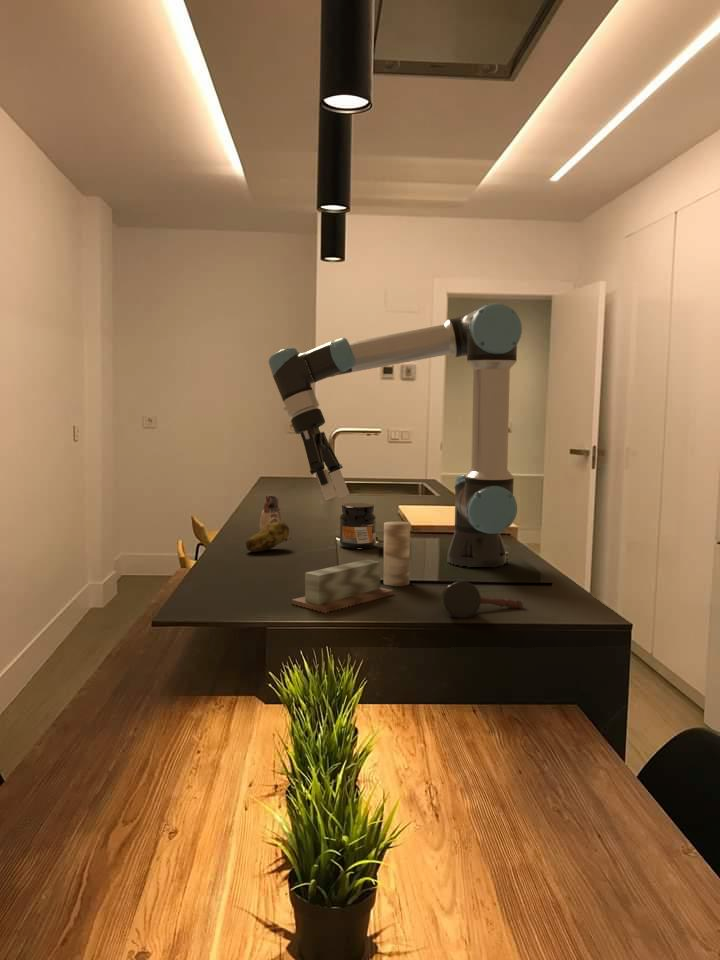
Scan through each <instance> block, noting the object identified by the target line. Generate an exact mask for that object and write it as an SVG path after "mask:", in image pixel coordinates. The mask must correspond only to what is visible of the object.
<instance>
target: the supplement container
mask: <svg viewBox="0 0 720 960" xmlns="http://www.w3.org/2000/svg"><path fill="white" fill-rule="evenodd" d="M340 512H341V514H340V516H339V517H338V519H339V541H338V542H339V543H338V544H339V545H340V546H341V547H342V548H343V547H346V548H345V549H347V548H356V549H355V550H358V549H357V548H369V549H372V548H374V547H376V544H377V539H376V537H377V536H376V535H377V534H376V533H377V531H376V529H377V526H376V525H377V516H376V515H375V505H374V504H373V503H368V502H367V503H366V502H349V503H342V504H341V506H340ZM371 547H372V548H371Z"/></svg>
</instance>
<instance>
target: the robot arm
mask: <svg viewBox="0 0 720 960" xmlns="http://www.w3.org/2000/svg"><path fill="white" fill-rule="evenodd" d="M522 325H523V324H522V321H521V317H519V315H518V313H517V312H516V311H515V310H514V309H513V308H512V307H510V306H508V305H506V304H503V303H496V302H494V303H486V304H483V305H481V306H480V307H478V308H477V309H475V310H473V311H472V312H469V313H467V314H464V315H462V316H458V317H456V318H448V319H447V320H446V321H445V322H444V324H439V325H434V326H430V327H424V328H423V327H422V328H418V329H417V328H416V329H414V330H413V329H412V330H408V331H402V332H397V333H396V332H395V333H391V334H386V335H382V336H376V337H369V338H363V339H359V340H355V341H350V342H349V341H348V339H347V338H345V337H341V338H338V339H333V340H331V341H329V342H326V343H324V344H321V345H319V346H317V347H315V348H313V349H310V350H308V351H306V352H305V351H304V352H301V353H300V352H299V351H298V350H297V348H296V347H288V348H285V349H284V348H283V349H280V350H279V351H277V352H275V353H273V354H272V355H270V356H269V358H268V365H269V369H270V371H271V374H272V378H273V380H274V382H275V384H276V387H277V389H278V392H279V394H280V396H281V399H282V402H283V403H284V406H283V410H284V411H287V415H288V416H289V418H291V420H290V423H291V426H292V428H293V431H294V433H295V434H297V435H300V437H301V439H302V441H303V445H304V446H303V447H304V450H305V453H306V456H307V462H308V465H309V469H310V470H309V472H310V474H311V475H315V477H316V479H317V482H318V485H319V488H320V489H321V492H322V495H323V497H324V501H328V500H330V499H334V498H336V497H337V498H338V499H341V498H343V497H346V496H348V495H350V491H349V489H348V486H347V484H346V482H345V479H344V476H343V473H342V470H341V469H343V465H342V464H341V463H340V462H339V459H338V458H337V456H336V454H335V452H334V450H333V448H332V447H331V445H330V442H329V440H328V437H327V435H326V433H325V432H324V431H321V430H320V427H322V426H324V424H325V423H326V420H325V417H324V415H323V411H322V410H321V409H320V408H319V406H320V404H319V401H318V399H317V396H316V394H315V392H314V390H313V387H312V384H314V383H317V382H319V381H322V380H325V379H327V378H333V377H337V376H340V375H341V376H342V375H346V374H351V373H356V372H361V371H366V370H372V369H377V368H382V367H388V366H393V365H397V364H398V365H399V364H404V363H409V362H416V361H421V360H425V359H426V360H427V359H430V358H438V357H442V356H443V357H444V356H447V355H449V356H450V357H452V358H459V357H465V356H466V358H467V359H466V363H467V364H469V366H470V367H471V368H472V371H473V373H472V375H473V376H472V377H473V378H472V416H471V417H472V418H471V419H472V425H471V468H470V470H469V471H468V472H467V473H466V474H459V475H457V476H456V478H455V484H454V493H455V494H454V533H453V537H452V538H451V542H450V544H449V548H448V551H447V556H446V557H447V563H448V562H449V563H448V564H450V563H451V564H450V565H453V564H454V565H453V566H456V565H459V566H458V567H462V566H467V567H466V568H470V567H492V568H498V566H499V567H502V566H504V564H505V563H506V564H507V554H506V550H505V547H504V544H503V540H502V536H501V533H502V532H504V531H506V530H507V529H508V528H510V527H511V525H513V523H514V522H515V520H516V518H517V514H518V503H517V500H516V498H515V496H514V479H515V478H514V475H513V474H512V473H511V472H510V471H509V470H508V461H509V460H508V459H509V458H508V456H509V455H508V453H509V449H508V448H509V421H510V420H509V417H510V416H509V414H510V381H511V380H510V378H511V377H510V376H511V373H510V371H511V369H512V367H513V366H514V365H515V364H516V363H517V358H518V357H517V356H518V354H517V352H518V344H519V342H520V339H521V337H522V334H523V333H522V332H523V326H522ZM325 466H326V467H325ZM506 564H505V565H506Z"/></svg>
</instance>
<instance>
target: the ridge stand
mask: <svg viewBox="0 0 720 960" xmlns="http://www.w3.org/2000/svg"><path fill="white" fill-rule="evenodd" d="M304 582H305V583H304V592H305V593H304V596H301V597H297V598H291V599H292V600H291V605H292V604H294V605H293V606H296V605H298V607H300V606H302V608H304V607H305V609H308V608H309V609H308V610H312V609H313V610H312V611H316V610H317V612H320V611H321V612H320V613H323V614H327V612H328V613H331V612H330V611H332V612H335V611H338V609H339V610H342V609H341V608H343V609H346V608H349V607H348V606H350V607H352V605H353V606H356V605H355V604H357V605H360V603H361V604H364V603H368V602H372V601H374V600H379V599H381V598H386V597H390V596H392V595H394V589H391V588H385V587H381V561H376V560H372V559H361V560H357V561H354V562H353V561H351V562H348V563H343V564H339V565H334V566H330V567H326V568H321V569H316V570H311V571H306V572H304ZM345 607H346V608H345ZM334 610H335V611H334Z"/></svg>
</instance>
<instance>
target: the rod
mask: <svg viewBox="0 0 720 960" xmlns="http://www.w3.org/2000/svg"><path fill="white" fill-rule="evenodd" d="M410 544H411V523H410V522H406V521H386V522H384V523H383V584H384V585H385V586H389V587H390V586H391V587H404V586H409V585H410V571H411V570H410V568H411V567H410V563H411V562H410V561H411V560H410V558H411V556H410V553H411V551H410V550H411V545H410Z"/></svg>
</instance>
